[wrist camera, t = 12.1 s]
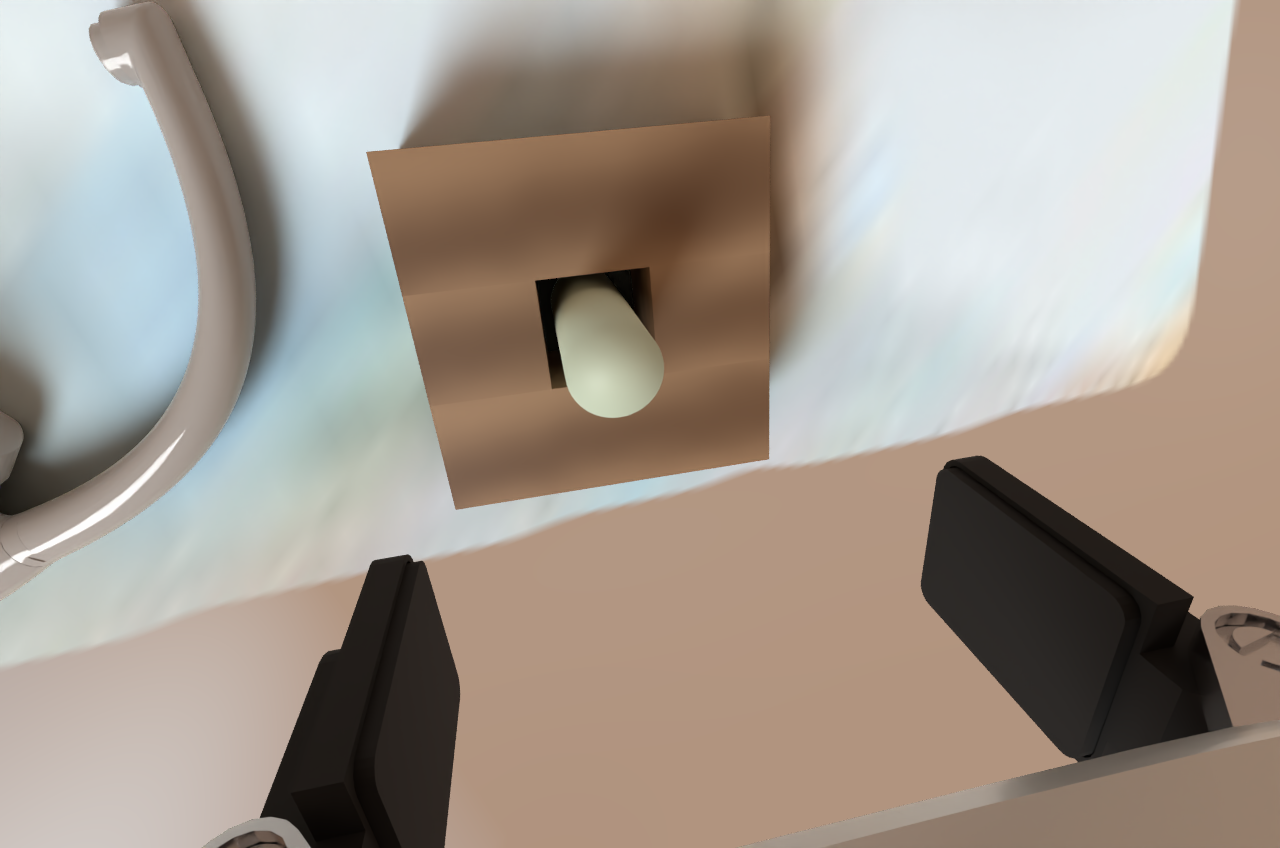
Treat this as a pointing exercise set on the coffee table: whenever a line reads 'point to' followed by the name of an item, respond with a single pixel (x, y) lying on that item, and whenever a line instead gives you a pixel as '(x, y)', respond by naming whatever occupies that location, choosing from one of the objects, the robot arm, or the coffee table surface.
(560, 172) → the socket block
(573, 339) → the peg
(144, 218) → the coffee table surface
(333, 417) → the coffee table surface
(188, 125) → the faucet
